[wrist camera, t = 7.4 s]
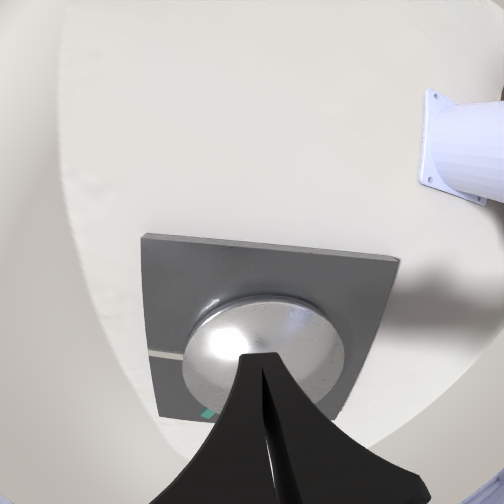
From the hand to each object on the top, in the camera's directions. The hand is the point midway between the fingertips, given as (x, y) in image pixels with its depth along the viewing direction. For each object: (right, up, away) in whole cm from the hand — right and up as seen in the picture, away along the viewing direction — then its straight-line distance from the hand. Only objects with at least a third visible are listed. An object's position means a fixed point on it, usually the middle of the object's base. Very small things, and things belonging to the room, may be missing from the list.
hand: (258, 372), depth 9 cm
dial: (+1, -4, +10) cm, 11 cm away
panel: (+1, -4, +12) cm, 12 cm away
